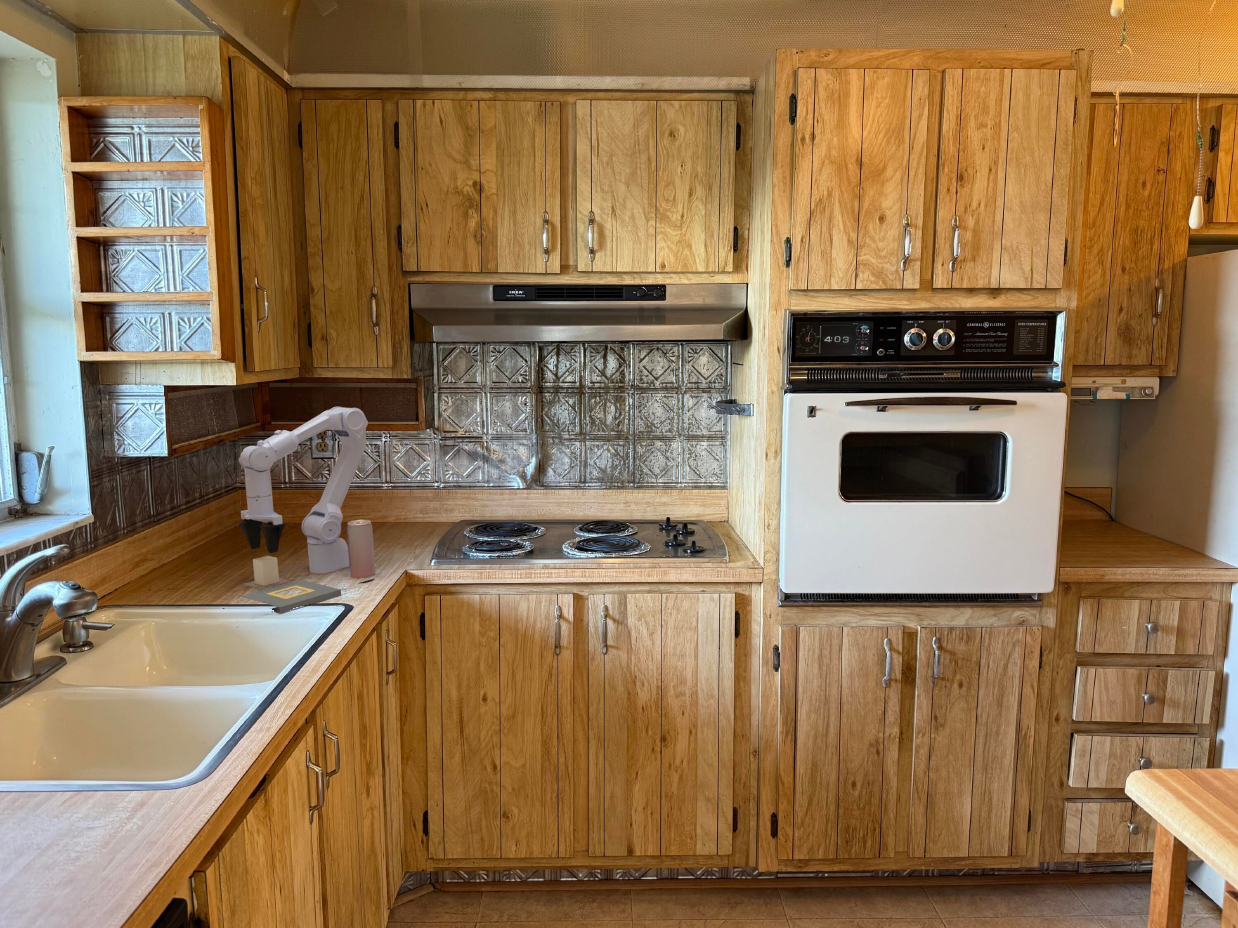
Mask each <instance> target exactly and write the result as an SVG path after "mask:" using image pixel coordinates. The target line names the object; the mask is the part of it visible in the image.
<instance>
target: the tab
mask: <svg viewBox="0 0 1238 928" xmlns="http://www.w3.org/2000/svg"><path fill="white" fill-rule="evenodd" d="M290 582H291V580H289V579H284V578H281V577H279V582H276V583H272V584H269V585H265V586H264V585H260V584H256V583H255V580H252V581H250V582H246V583H243V585H244V586H248V587H252V588H255V589H259V590H264V589H268V588H272V587H275V586H279V585H283V584H286V583H290Z"/></svg>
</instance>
